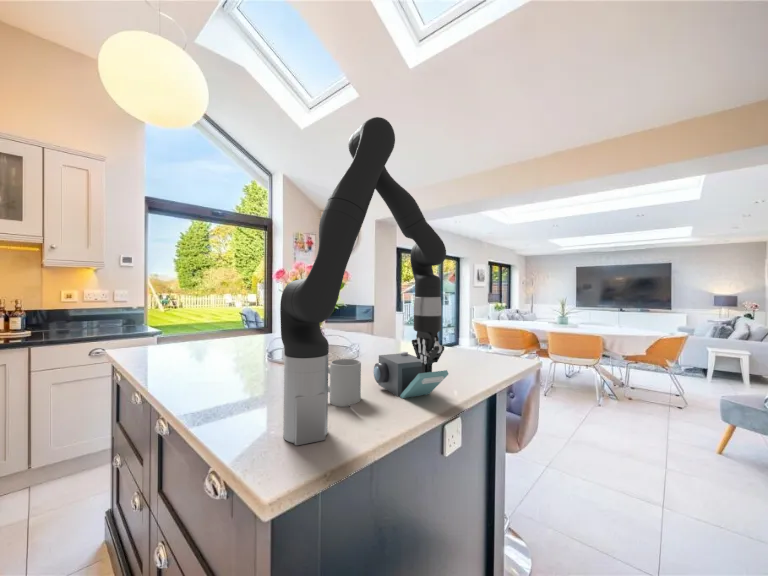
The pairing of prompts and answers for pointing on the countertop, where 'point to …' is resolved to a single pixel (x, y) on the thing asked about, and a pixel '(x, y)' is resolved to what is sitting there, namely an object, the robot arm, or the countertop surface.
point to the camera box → (396, 371)
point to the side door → (424, 384)
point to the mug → (345, 382)
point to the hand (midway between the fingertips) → (426, 376)
